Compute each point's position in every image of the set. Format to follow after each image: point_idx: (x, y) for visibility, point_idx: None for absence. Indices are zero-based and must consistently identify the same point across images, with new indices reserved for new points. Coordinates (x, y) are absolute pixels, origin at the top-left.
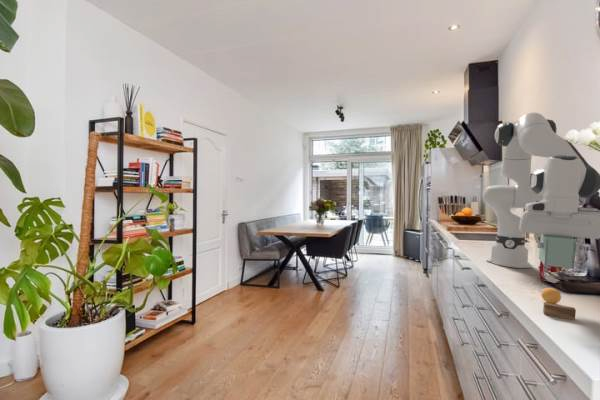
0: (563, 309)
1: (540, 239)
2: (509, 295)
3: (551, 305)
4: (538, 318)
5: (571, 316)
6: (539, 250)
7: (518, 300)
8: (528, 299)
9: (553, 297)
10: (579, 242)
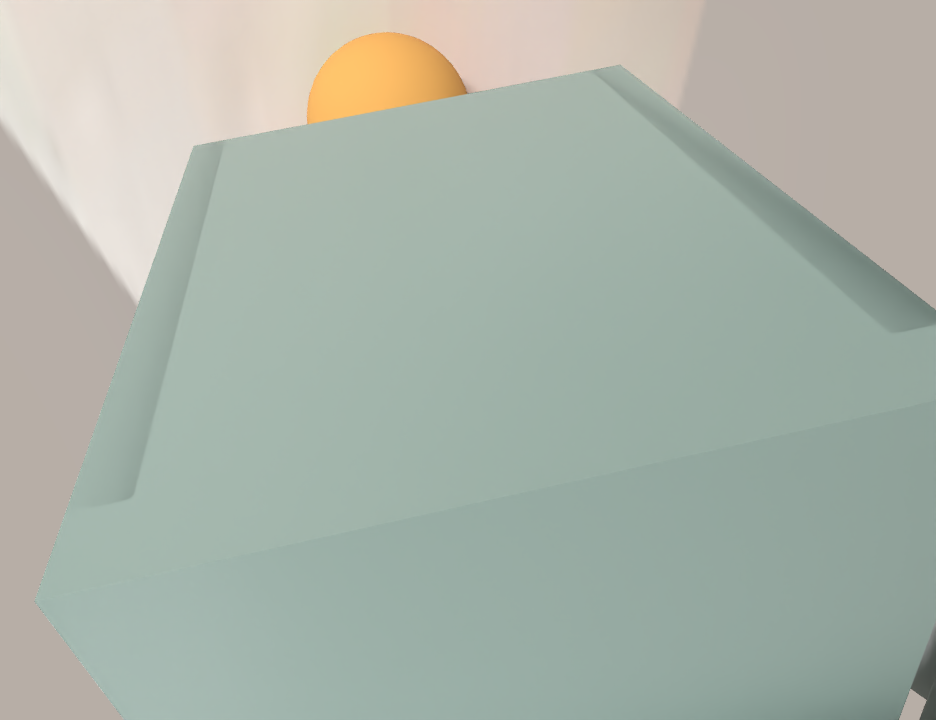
0: None
1: (121, 416)
2: (33, 136)
3: None
4: None
5: None
6: (171, 223)
7: (152, 239)
8: (208, 132)
9: None
10: (928, 688)
